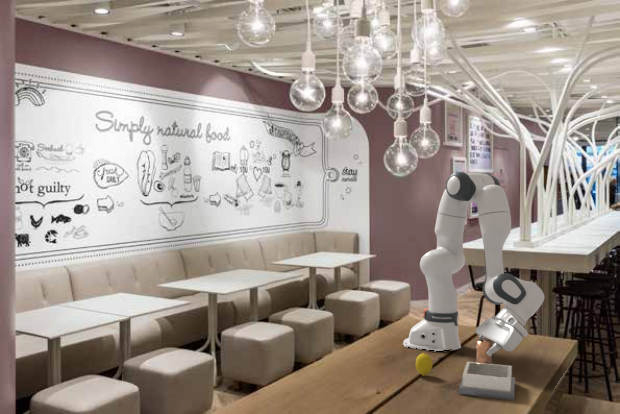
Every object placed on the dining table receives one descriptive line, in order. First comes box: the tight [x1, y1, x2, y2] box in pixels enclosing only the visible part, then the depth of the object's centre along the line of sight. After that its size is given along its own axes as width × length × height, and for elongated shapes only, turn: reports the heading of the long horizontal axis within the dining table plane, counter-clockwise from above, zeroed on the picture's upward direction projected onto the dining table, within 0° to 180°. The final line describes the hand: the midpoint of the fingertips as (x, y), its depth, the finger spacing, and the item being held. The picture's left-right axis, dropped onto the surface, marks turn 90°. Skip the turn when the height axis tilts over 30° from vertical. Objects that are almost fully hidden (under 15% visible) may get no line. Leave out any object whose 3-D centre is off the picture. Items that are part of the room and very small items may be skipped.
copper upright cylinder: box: [475, 335, 493, 364], centre depth 211 cm, size 5×5×10 cm
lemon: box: [415, 352, 433, 377], centre depth 206 cm, size 6×6×8 cm
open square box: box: [458, 361, 516, 401], centre depth 193 cm, size 16×16×6 cm
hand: (482, 351), depth 211 cm, fingers closed on copper upright cylinder, 5 cm apart
